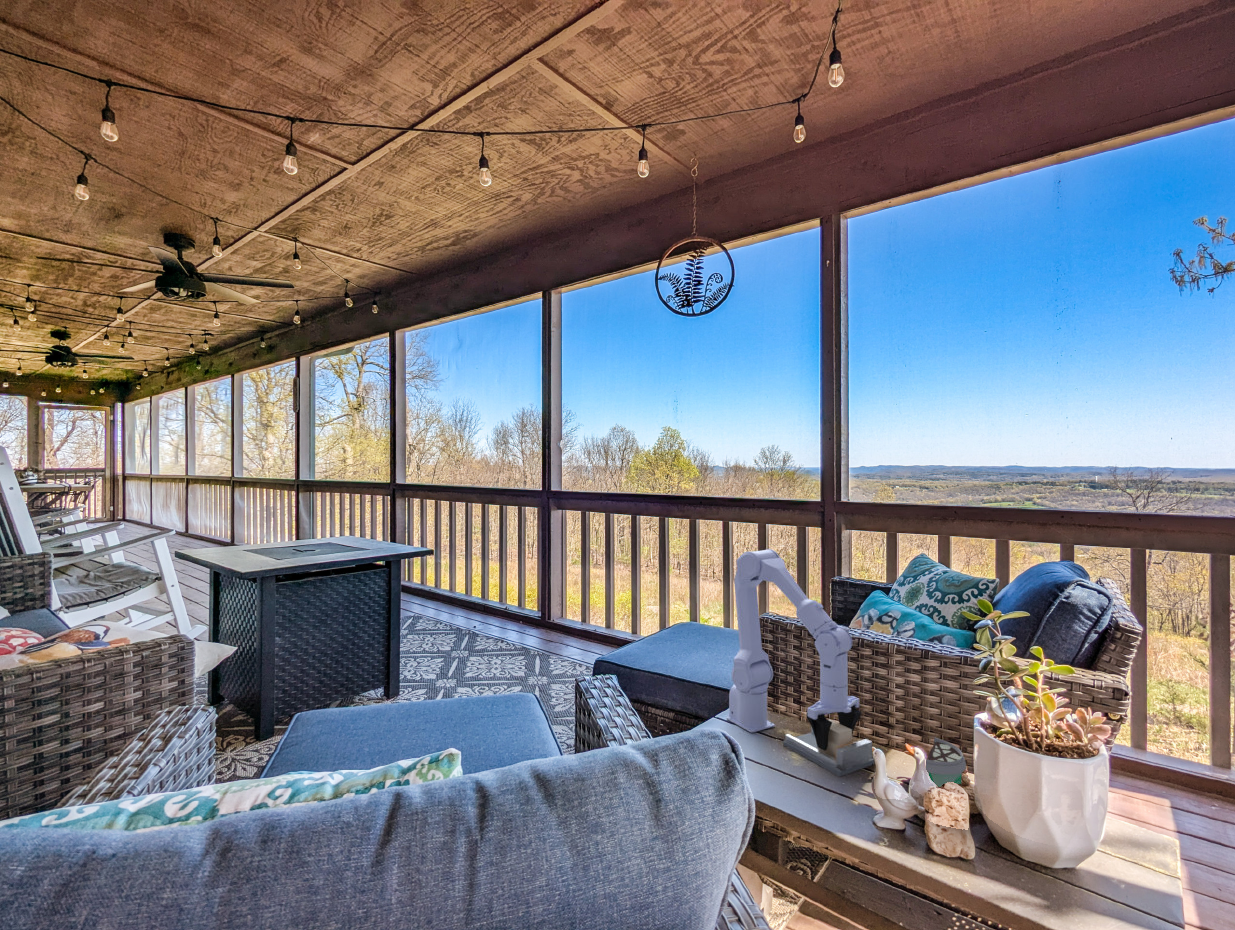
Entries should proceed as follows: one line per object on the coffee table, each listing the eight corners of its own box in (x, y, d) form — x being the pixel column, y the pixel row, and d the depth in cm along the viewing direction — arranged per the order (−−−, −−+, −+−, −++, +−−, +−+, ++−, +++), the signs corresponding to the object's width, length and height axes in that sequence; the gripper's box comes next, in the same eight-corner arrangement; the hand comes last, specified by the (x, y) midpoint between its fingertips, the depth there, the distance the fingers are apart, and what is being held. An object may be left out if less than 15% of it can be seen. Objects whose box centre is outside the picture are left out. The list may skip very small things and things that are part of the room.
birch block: (817, 749, 128) (817, 722, 128) (829, 745, 130) (829, 719, 130) (839, 761, 123) (839, 733, 123) (851, 757, 125) (851, 729, 125)
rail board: (783, 745, 133) (783, 723, 133) (816, 735, 138) (816, 714, 138) (839, 776, 119) (839, 752, 119) (874, 764, 124) (874, 740, 124)
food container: (962, 827, 102) (962, 770, 102) (924, 814, 105) (923, 759, 106) (970, 796, 111) (969, 745, 112) (934, 786, 115) (934, 736, 115)
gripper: (825, 694, 120) (825, 759, 120) (870, 683, 127) (871, 744, 127) (800, 684, 126) (800, 746, 126) (844, 673, 133) (844, 732, 133)
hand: (834, 744), depth 127 cm, fingers open, 7 cm apart
